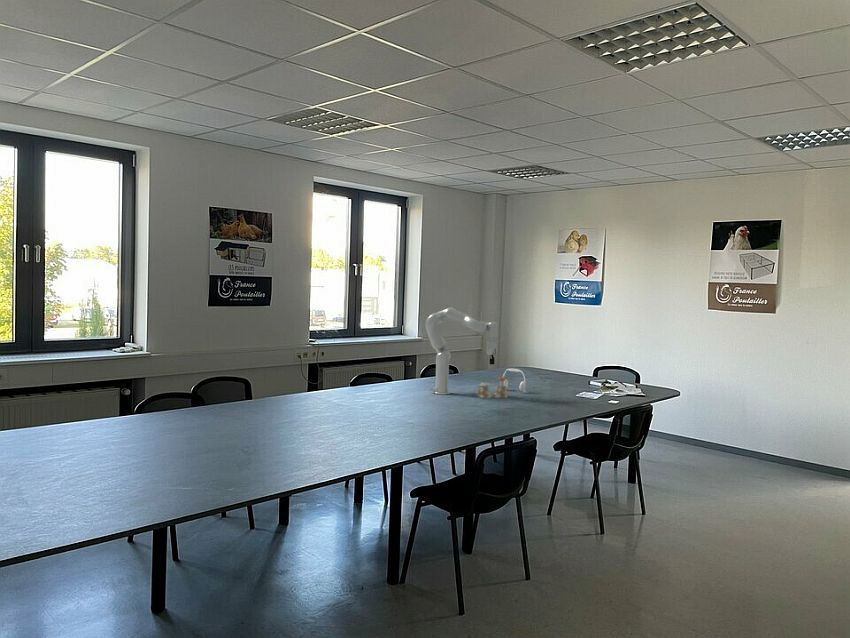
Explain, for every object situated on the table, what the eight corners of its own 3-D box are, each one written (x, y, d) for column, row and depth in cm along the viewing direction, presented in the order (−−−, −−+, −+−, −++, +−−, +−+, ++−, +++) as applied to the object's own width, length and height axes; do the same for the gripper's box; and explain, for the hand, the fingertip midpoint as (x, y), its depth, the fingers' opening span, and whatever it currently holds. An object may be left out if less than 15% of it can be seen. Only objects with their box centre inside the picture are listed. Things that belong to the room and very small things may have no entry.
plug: (481, 394, 461) (482, 383, 460) (478, 393, 466) (479, 382, 465) (488, 394, 462) (488, 383, 462) (485, 393, 467) (486, 382, 467)
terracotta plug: (499, 388, 465) (500, 378, 464) (496, 387, 470) (497, 377, 469) (506, 388, 466) (506, 378, 466) (503, 387, 471) (503, 377, 471)
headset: (499, 390, 496) (501, 367, 495) (504, 389, 502) (505, 367, 501) (522, 393, 484) (523, 370, 483) (527, 392, 490) (528, 369, 489)
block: (482, 398, 459) (482, 387, 458) (477, 395, 468) (477, 385, 468) (507, 397, 464) (508, 387, 464) (502, 395, 474) (502, 385, 473)
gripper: (483, 338, 469) (483, 363, 470) (491, 340, 455) (490, 365, 456) (493, 338, 471) (492, 363, 472) (501, 340, 457) (500, 365, 458)
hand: (491, 364), depth 464 cm, fingers closed
